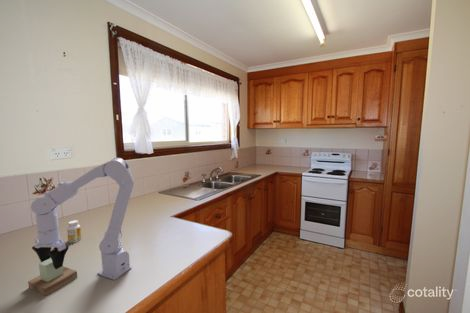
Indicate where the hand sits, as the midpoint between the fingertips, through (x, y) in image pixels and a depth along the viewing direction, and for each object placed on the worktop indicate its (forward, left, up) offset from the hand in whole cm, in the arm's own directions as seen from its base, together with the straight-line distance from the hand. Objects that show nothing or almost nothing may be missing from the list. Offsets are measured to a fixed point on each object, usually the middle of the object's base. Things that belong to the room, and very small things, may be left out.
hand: (52, 265), depth 78 cm
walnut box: (0, 0, -7) cm, 7 cm away
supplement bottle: (+26, -23, -7) cm, 35 cm away
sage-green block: (0, 0, -4) cm, 4 cm away
